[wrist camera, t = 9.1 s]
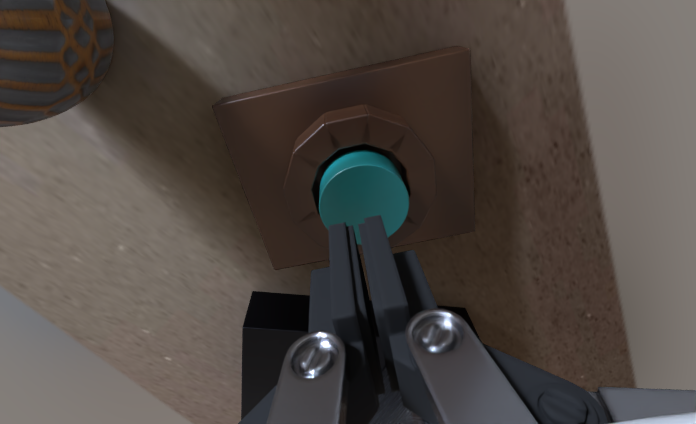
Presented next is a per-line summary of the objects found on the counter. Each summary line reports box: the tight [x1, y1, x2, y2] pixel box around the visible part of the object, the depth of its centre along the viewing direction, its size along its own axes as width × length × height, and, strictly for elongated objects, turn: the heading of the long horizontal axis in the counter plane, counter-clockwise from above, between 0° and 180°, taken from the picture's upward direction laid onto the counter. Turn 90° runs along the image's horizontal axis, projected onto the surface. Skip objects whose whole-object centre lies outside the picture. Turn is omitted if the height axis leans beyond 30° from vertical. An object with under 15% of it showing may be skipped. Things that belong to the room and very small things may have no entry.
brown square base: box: [212, 46, 475, 270], centre depth 17 cm, size 11×9×4 cm
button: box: [319, 150, 409, 245], centre depth 15 cm, size 4×4×2 cm
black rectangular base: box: [241, 291, 482, 420], centre depth 24 cm, size 15×12×3 cm
